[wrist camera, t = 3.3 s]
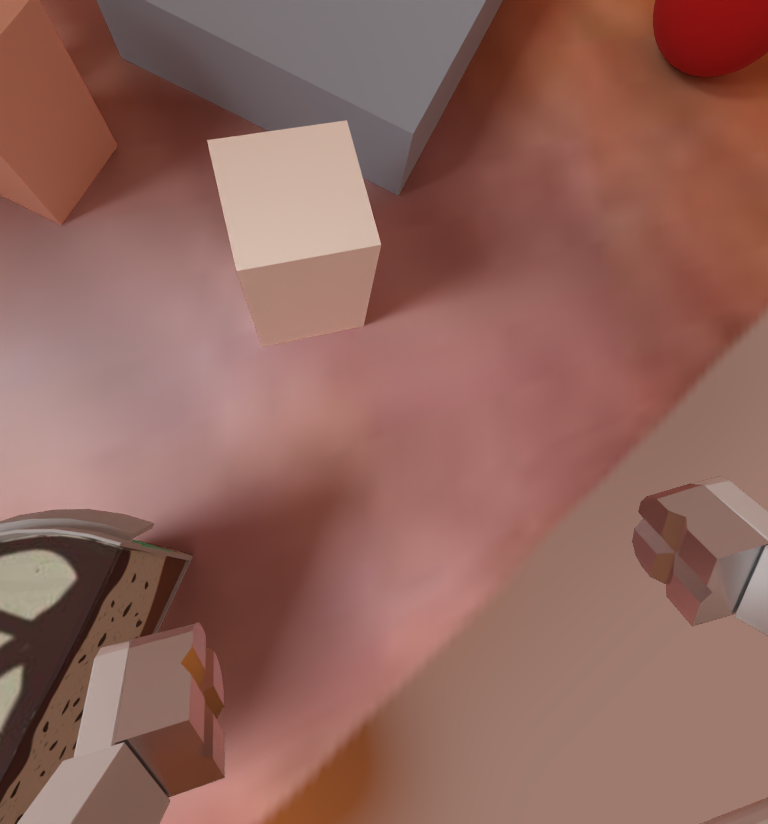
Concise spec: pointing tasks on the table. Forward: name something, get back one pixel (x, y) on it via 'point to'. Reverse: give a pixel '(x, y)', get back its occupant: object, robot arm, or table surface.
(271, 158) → the off-white column
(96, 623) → the food container
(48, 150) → the terracotta column
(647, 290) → the table surface
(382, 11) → the slate plinth block
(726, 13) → the christmas ornament
